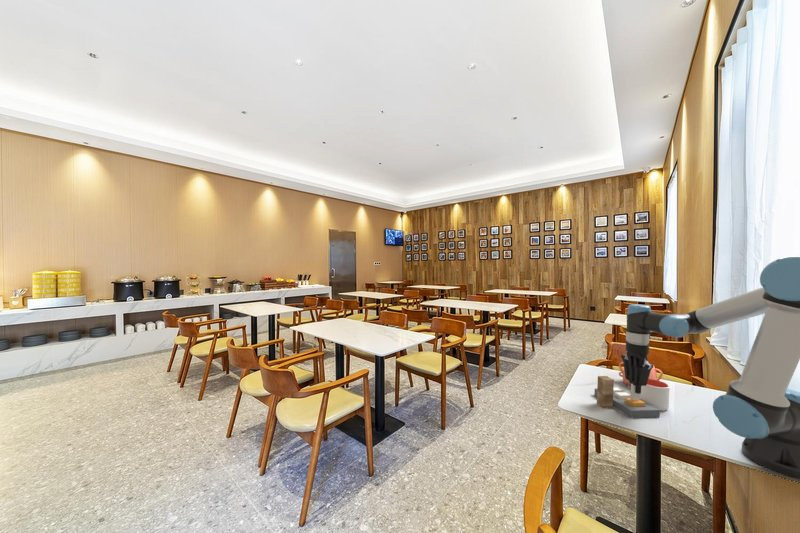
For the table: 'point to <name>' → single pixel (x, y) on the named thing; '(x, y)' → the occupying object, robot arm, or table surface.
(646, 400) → the cup
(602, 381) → the oak post
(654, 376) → the teapot
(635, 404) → the orange rectangular block
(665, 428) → the table surface
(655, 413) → the panel
